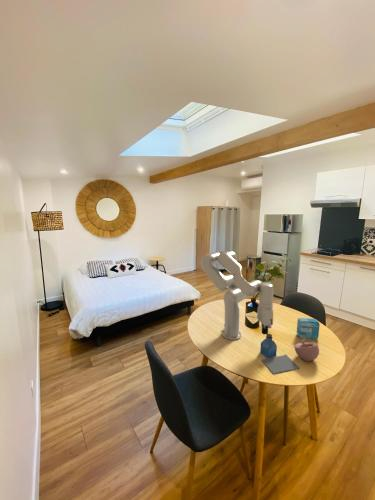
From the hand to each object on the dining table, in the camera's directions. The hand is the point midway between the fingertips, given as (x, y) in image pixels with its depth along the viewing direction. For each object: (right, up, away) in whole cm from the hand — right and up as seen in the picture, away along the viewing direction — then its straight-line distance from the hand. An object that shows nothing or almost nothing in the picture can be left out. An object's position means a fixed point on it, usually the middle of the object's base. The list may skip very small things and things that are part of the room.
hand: (264, 333), depth 133 cm
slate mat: (+4, -13, -11) cm, 18 cm away
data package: (+33, -8, +14) cm, 37 cm away
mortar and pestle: (+21, -12, -7) cm, 25 cm away
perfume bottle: (+1, -11, -3) cm, 12 cm away
